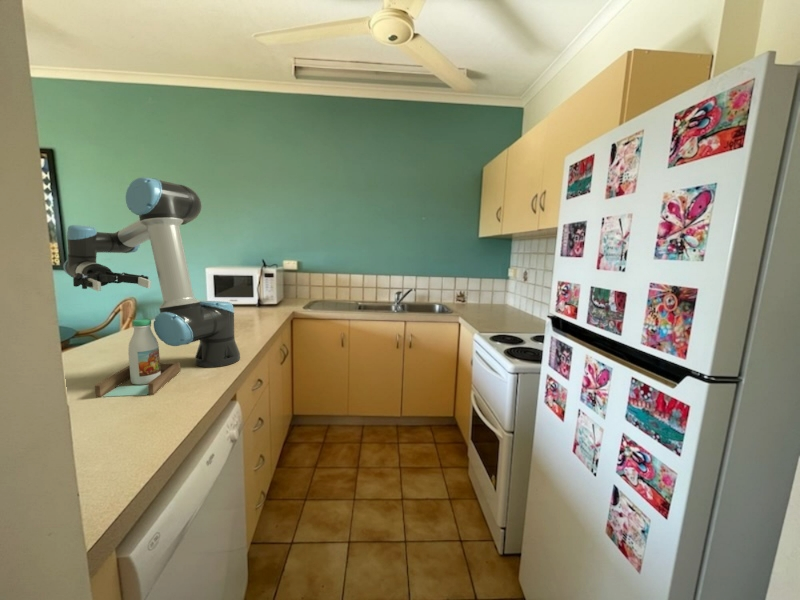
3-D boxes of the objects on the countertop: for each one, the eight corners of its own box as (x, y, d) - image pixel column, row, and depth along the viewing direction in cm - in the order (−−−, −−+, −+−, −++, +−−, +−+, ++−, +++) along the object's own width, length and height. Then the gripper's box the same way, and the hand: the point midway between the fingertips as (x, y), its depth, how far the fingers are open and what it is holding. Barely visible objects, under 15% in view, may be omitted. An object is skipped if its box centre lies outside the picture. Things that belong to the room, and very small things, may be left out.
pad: (158, 385, 104) (158, 384, 104) (147, 395, 97) (147, 394, 97) (117, 387, 102) (117, 386, 102) (103, 397, 95) (103, 396, 95)
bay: (180, 372, 115) (179, 362, 115) (153, 394, 98) (152, 383, 97) (132, 373, 112) (131, 363, 112) (95, 397, 95) (94, 385, 94)
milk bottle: (128, 387, 102) (122, 323, 99) (134, 378, 109) (129, 318, 106) (158, 383, 106) (154, 321, 103) (162, 374, 112) (158, 316, 110)
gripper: (136, 283, 129) (167, 293, 120) (45, 286, 107) (74, 300, 98) (136, 263, 128) (167, 273, 118) (44, 263, 106) (74, 274, 96)
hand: (125, 285), depth 108 cm, fingers open, 13 cm apart
